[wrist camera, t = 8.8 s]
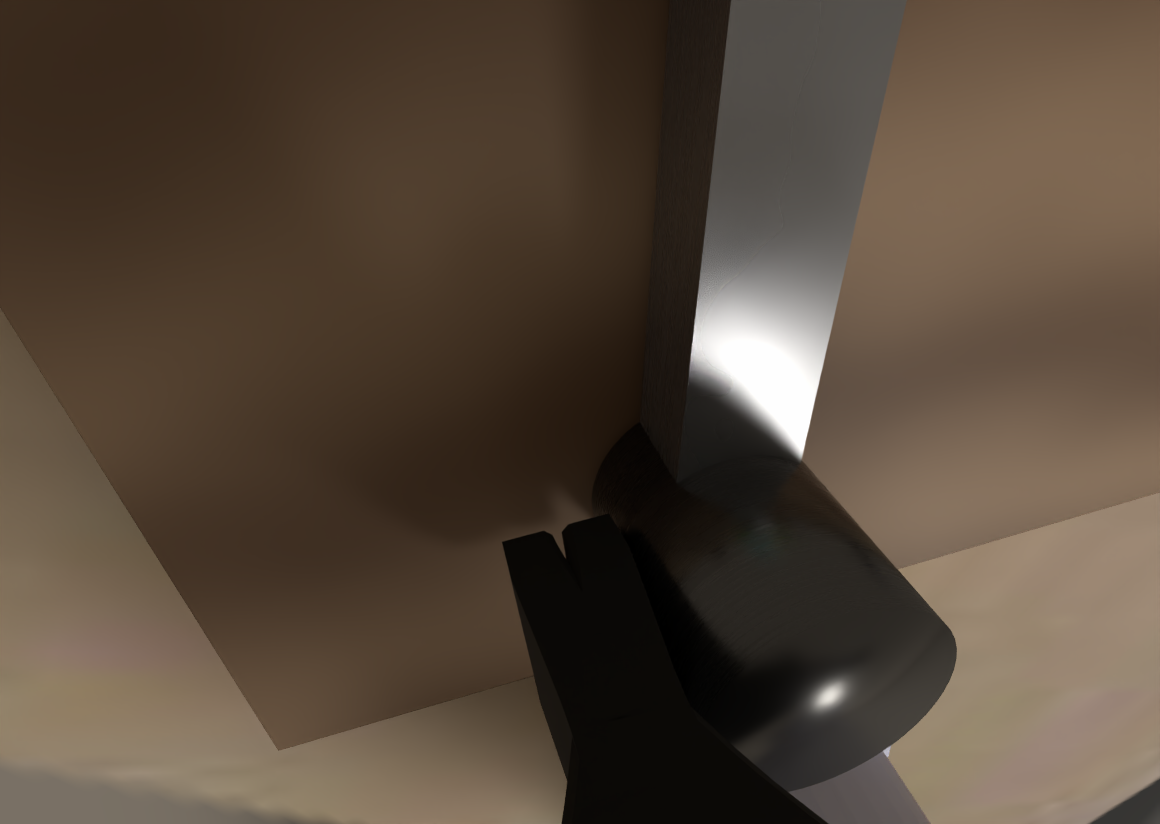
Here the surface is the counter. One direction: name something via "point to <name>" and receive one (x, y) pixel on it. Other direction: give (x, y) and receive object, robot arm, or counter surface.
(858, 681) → the lever
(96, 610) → the counter surface
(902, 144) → the board
